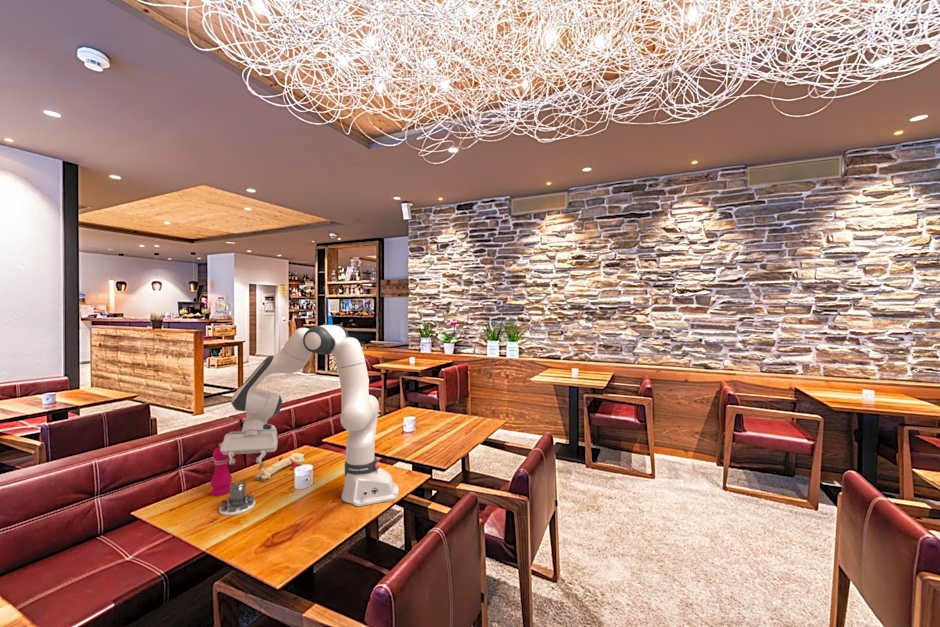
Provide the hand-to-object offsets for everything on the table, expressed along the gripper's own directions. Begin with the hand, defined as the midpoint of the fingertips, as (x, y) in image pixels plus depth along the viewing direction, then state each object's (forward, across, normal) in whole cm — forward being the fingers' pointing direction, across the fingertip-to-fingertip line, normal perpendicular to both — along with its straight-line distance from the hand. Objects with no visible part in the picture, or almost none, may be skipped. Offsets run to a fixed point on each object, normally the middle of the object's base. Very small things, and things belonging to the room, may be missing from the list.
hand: (245, 463), depth 150 cm
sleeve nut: (+14, 0, +4) cm, 15 cm away
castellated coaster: (+15, 0, +5) cm, 15 cm away
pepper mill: (+5, -11, +15) cm, 19 cm away
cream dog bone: (-8, +7, +29) cm, 31 cm away
